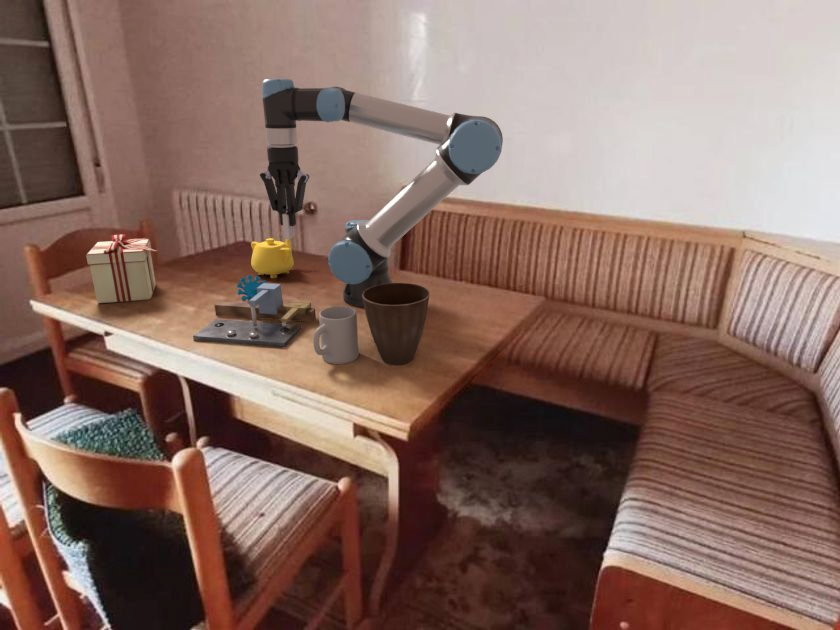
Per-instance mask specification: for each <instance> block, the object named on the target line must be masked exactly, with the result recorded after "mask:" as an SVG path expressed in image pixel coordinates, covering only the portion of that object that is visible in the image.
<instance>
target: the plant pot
mask: <svg viewBox="0 0 840 630" xmlns="http://www.w3.org/2000/svg"><path fill="white" fill-rule="evenodd" d="M362 298H363V303H364V307H363V308H364V312H365V316H366V320H367V324H368V327H369V330H370V334H371V337H372V339H373V342H374V344H375V347H376V349H377V351H378V354H379V356H380V359H381V360H382V361H383V362H384V363H386V364H388V365H391V366H392V365H394V366H400V365H402V366H403V365H406V364H409V363H411V362H412V361H413V360H414V358H415V356H416V353H417V351H418V348H419V345H420V342H421V340H422V336H423V332H424V328H425V325H426V320H427V319H426V318H427V313H428V307H429V301H430V300H429V299H430V291H429V290H428V288H426V287H424V286H422V285H419V284H416V283H409V282H392V283H386V284H380V285H376V286H372V287H370V288H368V289H366V290H365V291H364V292H363V293H362Z"/></svg>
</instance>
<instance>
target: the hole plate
mask: <svg viewBox="0 0 840 630" xmlns="http://www.w3.org/2000/svg"><path fill="white" fill-rule="evenodd" d="M286 326H287V328H286V329H283V327H282V323H272V322H271V323H270V322H258V321H257V326H256V327H254V326H253V321H246V320H234V319H220V318H219V319H218V318H214V320H212V321H211V322H210V323H208V324H207V325H205V326H204V327H202V329H200V330H199V331H197V332H196V333H195V334H193V336H192V338H193V341H198V342H199V341H200V342H209V343H210V342H211V343H223V344H224V343H225V344H237V345H246V346H247V345H248V346H258V347H259V346H261V347H270V348H271V347H272V348H283V349H285V348H286V347H287V346H288V345H289V344H290V343H291V341H292V340H294V339H295V337H296V336H297V335H298V334H299V333H300V332H301V331H302V329H303V328H302V325H299V324H289V323H286Z"/></svg>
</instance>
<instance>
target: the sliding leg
mask: <svg viewBox="0 0 840 630" xmlns="http://www.w3.org/2000/svg"><path fill="white" fill-rule="evenodd" d="M248 303H249V304H250V306H251V313H252V318H251V322H253V326H254V327H256V326H257V322H258V321H257V318H256V312H255V307H256V306H257V305H258V306H259V313H262V314H276V315H277V314H278V308H279V307H280V306H284V301H283V291H282V285H281V283H268V282H267V283H263V284H261V285H260V286H259V287H257V295H255V296H254V297H253V298H252V299H250V300H248Z"/></svg>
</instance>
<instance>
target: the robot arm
mask: <svg viewBox="0 0 840 630" xmlns="http://www.w3.org/2000/svg"><path fill="white" fill-rule="evenodd" d="M261 85H262V86H261V88H262V98H261V100H262V105H263V106H262V107H263V115H264V117H263V118H264V127H265V128H264V129H265V140H266V141H265V143H266V144H267V145H268V146H267V147H266V151H267V152H266V153H267V161H268V166H267V170H265V171H264V172H260V174H259V176H260V178H261V180H262V182H263V183H264V186H265V190H266V194H267V197H268V200H269V203H270V206H271V210H272V211H274V212H277V213H278V215H279V224H280V226H282V227H283V228H282V229H283V239H285V240H286V239H293V238H295V231H294V226H296V225H297V219H296V213H298V212H300V211H302V210H303V205H304V199H305V193H306V185H307V182H309V179H310V175H309V174H307V173H304V172H303V171H301V167H300V165H299V147H297V144H298V134H297V122H301V121H304V122H305V121H306V122H325V123H332V122H340V121H344V122H347V123H353V124H356V125H361V126H365V127H368V128H372V129H376V130H380V131H383V132H384V131H385V132H388V133H392V134H396V135H400V136H404V137H407V138H412V139H415V140H419V141H423V142H428V143H432V144H435V145H438V147H436V149H435V158H434V159H433V160H432V161H431V162H430V163H429V164H427V166H425V168H423V169H422V170H421V171H420V172H419V173H418V174H417V175H416V176H414V178H413V179H412V180H411V181H410V182H408V183H407V184H406V185H405V187H403V189H401V190H400V191H399V192H397V194H396V195H395V196H394V197H393V198H392V199H391V200H390V201H389V202H387V204H385V206H384V207H382V208H381V209H380V210H379V211H378V212H377V213H376V214H375V215H373V217H372V218H371V219H355V220H348V221H347V222H346V223H345V229H344V231H345V235H344V236H343V237H342V238H341V239H340V240H339V241H337V242H335V243H334V245H333V246H332V247H331V250H329V253H328V257H327V260H328V261H327V263H328V267H329V270H330V272H331V273H332V275H333V276H334V277H335V278H336V279H337V280H338V281H340V282H342V283H344V284H345V285H344V286H343V287H344V288H343V293H342V294H343V295H342V296H343V301H344V303H346V304H348V305H350V306H353V307H354V306H355V307H361V308H362V307H363V308H364V303H363V298H362V293H363V292H364V291H365V290H366V289H368V288H370V287H372V286H376V285H380V284H386V283H393V282H392V279H391V276H390V273H389V257H390V256H391V252H392V251H391V249H392V247H393V246H394V245H395V244H396V243H397V242H398V241H399V240H400V239H402V237H404V235H406V234H407V233H408V232H409V231H410V230H411V229H412V228H414V227H415V226H416V225H417V224H418V223H419V222H420V221H421V220H422V219H424V218H425V217H426V216H427V215H428V214H429V213H430V212H431V211H433V209H435V208H436V207H437V206H438V205H439V204H441V202H442V201H443V200H445V199H446V198H447V197H448V196H449V195H450V194H451V193H452V192H453V191H454V190H456V189H457V188H458V187H459V186H469V185H471V184H472V182H474V181H475V180H476V179H477V178H479V176H481V174H483V173H484V172H486V171H489V170H490V169H491V168H492V167H493V166H494V165H495V164H496V163H497V162H498V160H499V158H500V156H501V154H502V149H503V142H504V141H503V140H504V139H503V133H502V131H501V128H500V127H499V125H498V123H496V122H495V121H494V120H493V119H491V118H489V117H487V116H480V115H479V116H478V115H469V114H462V113H458V112H453V113H451V114H450V115H449V114H445V113H441V112H437V111H432V110H429V109H425V108H424V109H423V108H420V107H417V106H416V107H415V106H412V105H408V104H406V103H405V104H404V103H401V102H396V101H393V100H389V99H385V98H379V97H377V96H375V97H374V96H372V95H368V94H363V93H360V92H355V91H351V90H347V89H345V88H343V87H340V86H331V87H307V88H306V87H302V88H300V87H295V85H294V81H293V79H290V78H265V79H264V80H263V81H262V83H261ZM296 180H297V185H296V182H295V181H296ZM295 186H296V189H295ZM295 190H296V191H295Z"/></svg>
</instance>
